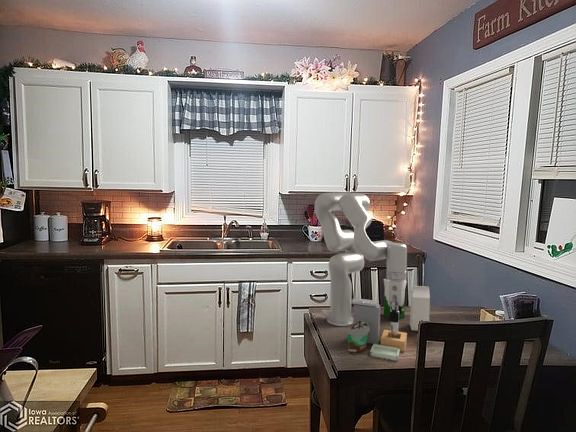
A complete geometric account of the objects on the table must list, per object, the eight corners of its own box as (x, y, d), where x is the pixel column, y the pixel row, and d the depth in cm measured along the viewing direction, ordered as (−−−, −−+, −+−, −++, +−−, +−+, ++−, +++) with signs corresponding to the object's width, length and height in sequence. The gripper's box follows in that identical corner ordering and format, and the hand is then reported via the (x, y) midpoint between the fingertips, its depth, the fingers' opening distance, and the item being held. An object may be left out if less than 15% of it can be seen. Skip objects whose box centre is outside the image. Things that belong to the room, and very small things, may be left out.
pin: (389, 346, 152) (390, 311, 151) (390, 342, 155) (391, 309, 154) (397, 347, 151) (398, 312, 150) (398, 344, 154) (399, 310, 153)
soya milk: (393, 311, 190) (395, 272, 188) (407, 317, 182) (409, 276, 180) (380, 315, 186) (381, 274, 184) (394, 321, 178) (395, 279, 176)
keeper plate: (351, 303, 156) (351, 301, 156) (353, 300, 160) (353, 297, 160) (376, 306, 152) (376, 304, 152) (377, 303, 156) (378, 300, 156)
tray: (369, 356, 144) (370, 351, 144) (373, 348, 150) (373, 343, 150) (397, 361, 140) (397, 356, 140) (399, 352, 146) (399, 348, 146)
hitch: (351, 342, 155) (352, 306, 153) (356, 334, 163) (357, 300, 162) (404, 351, 147) (405, 314, 146) (406, 342, 155) (408, 306, 154)
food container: (362, 358, 142) (362, 332, 141) (346, 354, 145) (347, 328, 144) (373, 345, 152) (374, 321, 151) (358, 342, 156) (359, 318, 155)
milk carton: (428, 331, 166) (430, 289, 164) (411, 330, 167) (413, 288, 165) (426, 325, 173) (427, 284, 171) (409, 324, 174) (411, 283, 172)
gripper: (404, 281, 140) (403, 326, 142) (408, 270, 156) (407, 311, 158) (383, 279, 143) (382, 324, 145) (389, 269, 159) (389, 309, 161)
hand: (395, 317), depth 151 cm, fingers open, 9 cm apart
